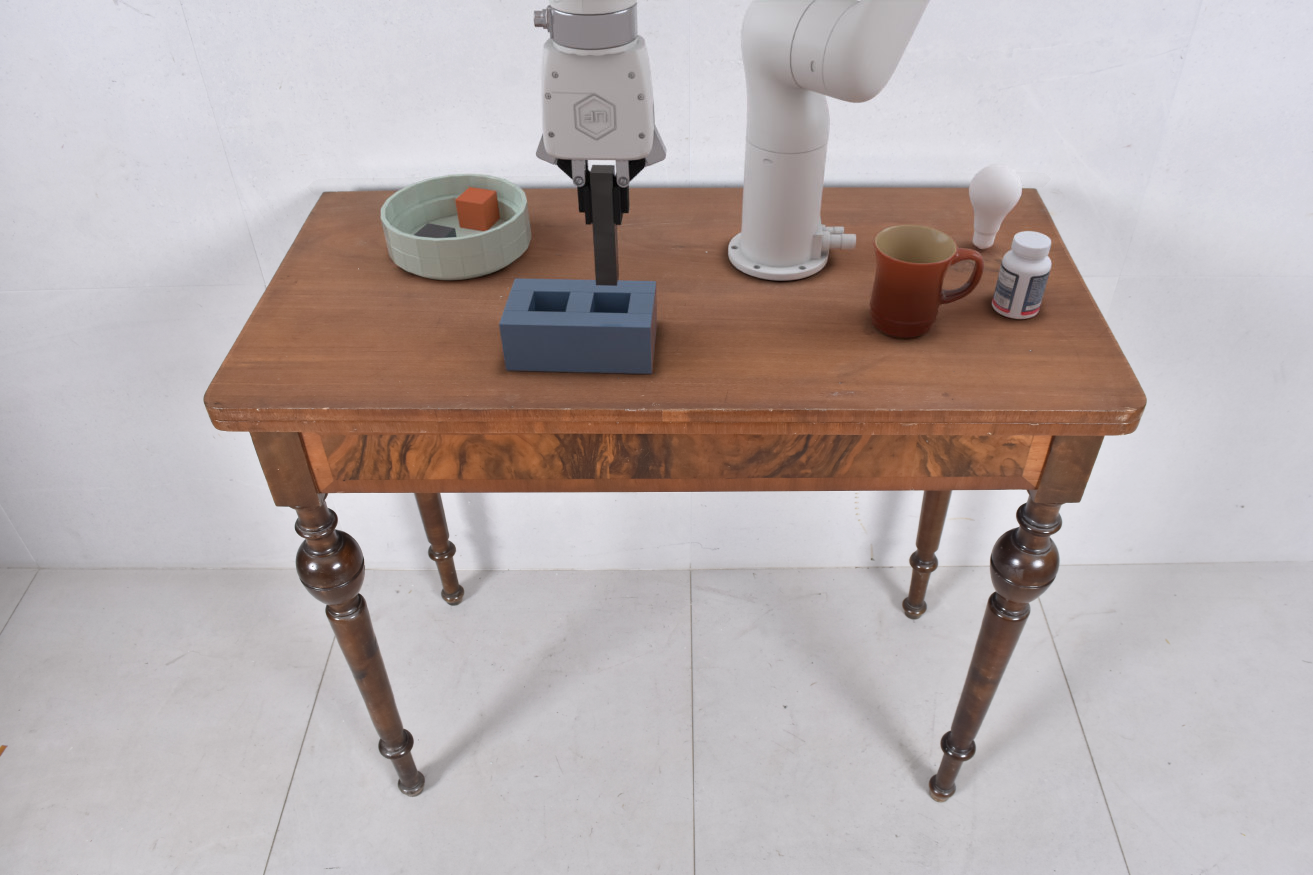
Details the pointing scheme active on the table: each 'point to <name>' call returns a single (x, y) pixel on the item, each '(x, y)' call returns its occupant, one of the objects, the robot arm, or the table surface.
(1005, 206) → the lightbulb
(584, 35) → the robot arm
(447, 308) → the table surface
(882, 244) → the mug
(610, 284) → the rectangular bar
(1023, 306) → the pill bottle
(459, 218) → the block
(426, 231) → the block
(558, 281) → the holder
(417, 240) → the bowl
